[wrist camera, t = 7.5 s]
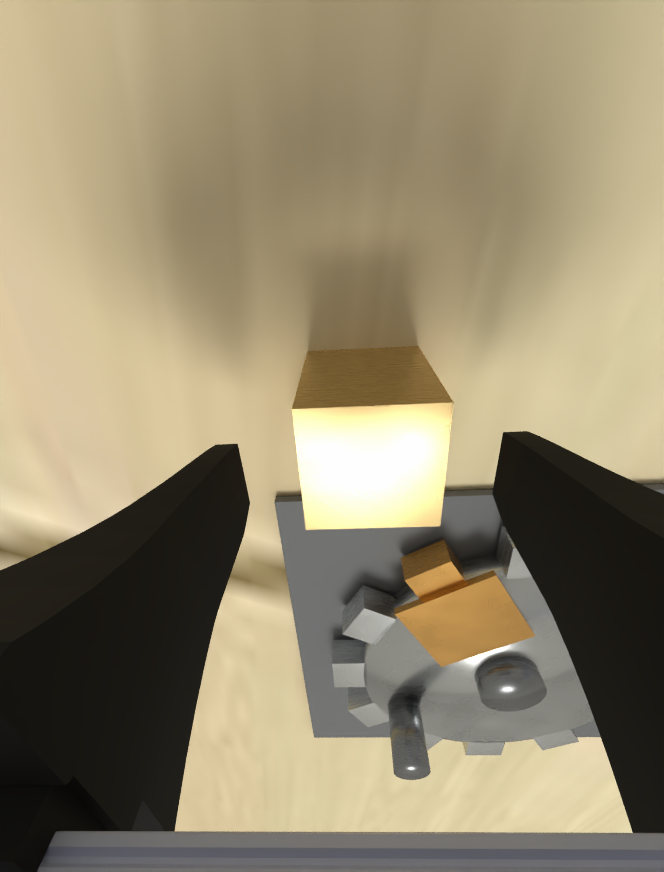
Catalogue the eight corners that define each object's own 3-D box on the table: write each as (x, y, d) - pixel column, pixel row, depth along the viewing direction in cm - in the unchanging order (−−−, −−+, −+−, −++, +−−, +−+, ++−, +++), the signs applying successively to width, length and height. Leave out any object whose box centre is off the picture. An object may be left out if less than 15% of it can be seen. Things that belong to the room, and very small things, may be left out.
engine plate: (796, 479, 16) (805, 484, 16) (634, 729, 26) (638, 736, 26) (275, 496, 17) (274, 502, 17) (314, 730, 27) (314, 737, 27)
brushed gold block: (418, 345, 14) (453, 402, 9) (412, 442, 16) (440, 526, 11) (307, 351, 14) (291, 409, 10) (315, 445, 16) (305, 529, 12)
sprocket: (629, 459, 15) (726, 538, 11) (706, 681, 22) (780, 775, 18) (267, 615, 20) (250, 705, 16) (424, 754, 27) (437, 839, 23)
